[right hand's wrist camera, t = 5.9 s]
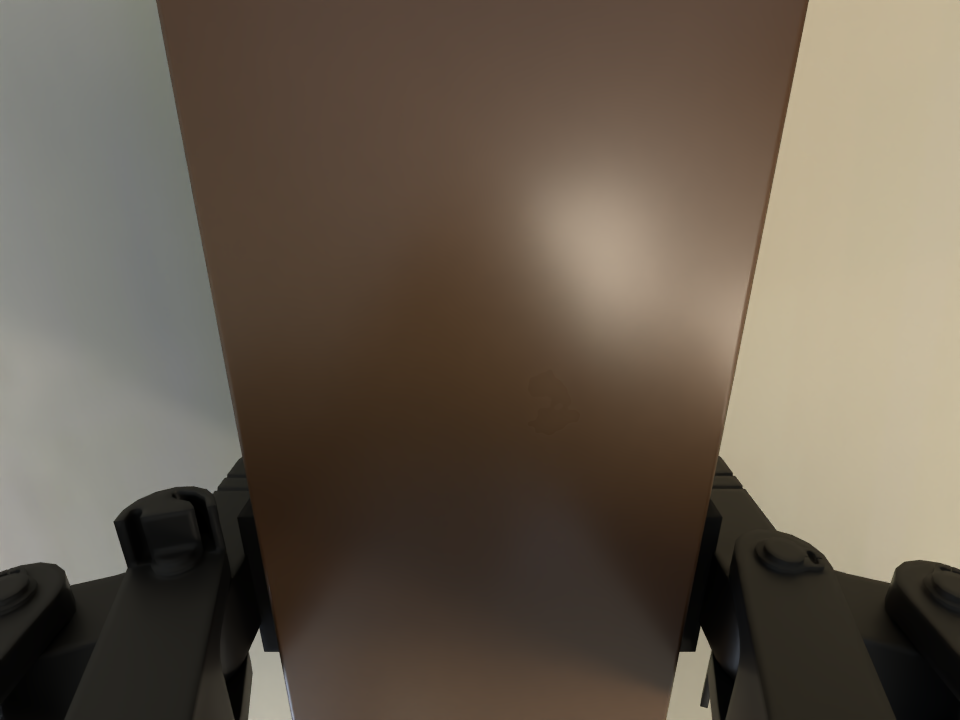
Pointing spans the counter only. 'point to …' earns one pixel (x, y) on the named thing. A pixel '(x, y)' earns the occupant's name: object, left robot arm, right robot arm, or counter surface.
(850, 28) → the counter surface
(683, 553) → the bar
